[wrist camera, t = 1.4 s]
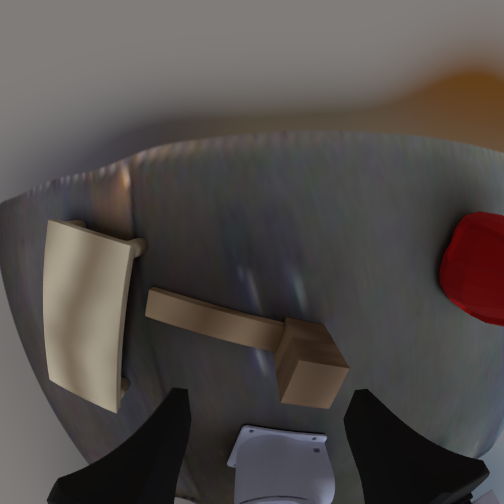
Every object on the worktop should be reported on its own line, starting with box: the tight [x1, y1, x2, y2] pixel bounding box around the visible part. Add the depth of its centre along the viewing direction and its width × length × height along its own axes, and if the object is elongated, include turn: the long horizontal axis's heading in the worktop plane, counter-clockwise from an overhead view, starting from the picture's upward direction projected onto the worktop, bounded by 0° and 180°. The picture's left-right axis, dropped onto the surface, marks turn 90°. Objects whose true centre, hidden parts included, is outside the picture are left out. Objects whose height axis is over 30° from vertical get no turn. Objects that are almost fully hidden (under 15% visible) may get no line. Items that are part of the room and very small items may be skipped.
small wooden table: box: [43, 219, 148, 413], centre depth 20 cm, size 8×16×4 cm, turn 164°
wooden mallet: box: [145, 286, 350, 409], centre depth 19 cm, size 15×4×7 cm, turn 74°
